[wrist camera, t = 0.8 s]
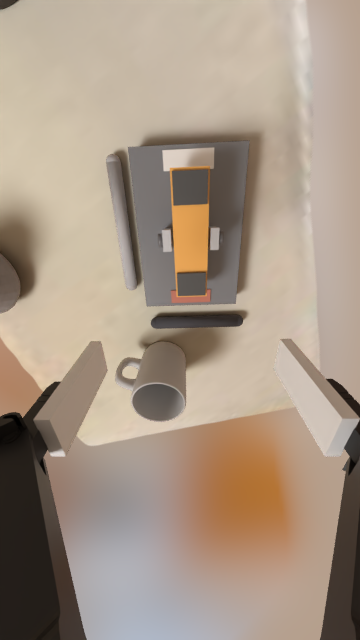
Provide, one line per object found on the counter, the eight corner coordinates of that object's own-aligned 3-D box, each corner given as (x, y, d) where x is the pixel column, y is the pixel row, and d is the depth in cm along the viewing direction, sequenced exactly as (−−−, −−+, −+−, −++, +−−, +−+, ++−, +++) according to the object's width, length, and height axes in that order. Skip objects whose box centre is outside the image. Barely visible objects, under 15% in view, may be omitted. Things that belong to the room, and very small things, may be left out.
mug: (191, 347, 40) (194, 390, 30) (178, 380, 44) (176, 427, 34) (130, 330, 38) (112, 369, 29) (121, 365, 42) (102, 410, 32)
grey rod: (107, 156, 27) (102, 152, 25) (121, 155, 27) (117, 151, 25) (128, 288, 35) (125, 291, 33) (138, 288, 35) (136, 291, 33)
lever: (170, 170, 23) (169, 167, 20) (207, 168, 23) (210, 165, 20) (177, 290, 30) (176, 298, 27) (204, 289, 30) (206, 297, 27)
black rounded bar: (151, 315, 37) (149, 320, 35) (242, 312, 37) (245, 317, 35) (152, 325, 38) (150, 330, 36) (240, 323, 37) (243, 328, 36)
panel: (133, 154, 27) (116, 133, 20) (242, 148, 26) (262, 124, 20) (149, 299, 36) (141, 318, 29) (231, 297, 35) (242, 315, 29)
